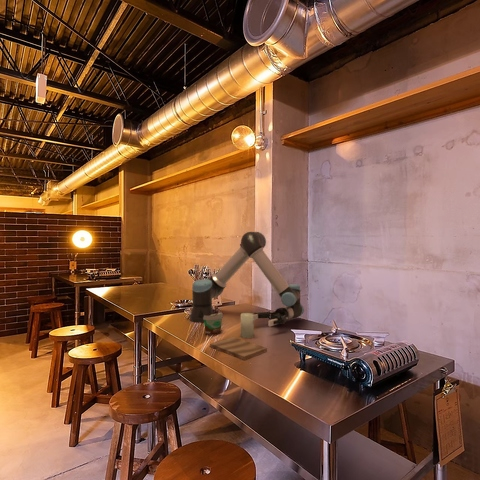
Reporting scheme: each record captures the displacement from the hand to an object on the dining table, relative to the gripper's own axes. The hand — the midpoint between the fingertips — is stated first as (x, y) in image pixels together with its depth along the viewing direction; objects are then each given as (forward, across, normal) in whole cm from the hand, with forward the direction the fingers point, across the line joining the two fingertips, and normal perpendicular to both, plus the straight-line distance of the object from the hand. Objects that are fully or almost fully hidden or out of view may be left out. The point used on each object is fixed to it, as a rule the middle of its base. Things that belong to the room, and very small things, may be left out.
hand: (258, 321), depth 165 cm
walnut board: (+24, -10, -6) cm, 27 cm away
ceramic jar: (+8, 0, -6) cm, 10 cm away
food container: (+16, +15, -6) cm, 23 cm away
